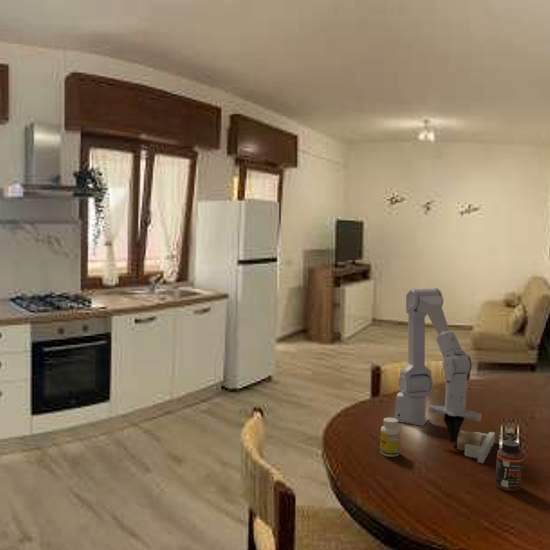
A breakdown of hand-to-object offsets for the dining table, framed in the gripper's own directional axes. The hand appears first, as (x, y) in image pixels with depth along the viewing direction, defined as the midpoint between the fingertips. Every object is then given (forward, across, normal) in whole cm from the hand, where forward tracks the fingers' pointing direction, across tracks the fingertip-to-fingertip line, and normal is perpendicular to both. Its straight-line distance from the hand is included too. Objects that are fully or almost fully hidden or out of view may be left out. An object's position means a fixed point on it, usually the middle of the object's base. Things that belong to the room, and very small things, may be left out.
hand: (453, 440), depth 175 cm
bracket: (+1, +7, 0) cm, 7 cm away
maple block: (+2, +4, 0) cm, 5 cm away
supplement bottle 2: (+2, +18, -21) cm, 28 cm away
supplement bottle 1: (+2, -14, -16) cm, 21 cm away
